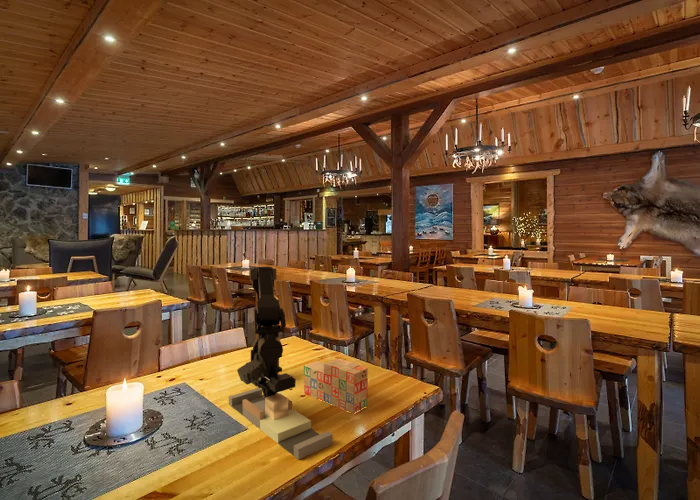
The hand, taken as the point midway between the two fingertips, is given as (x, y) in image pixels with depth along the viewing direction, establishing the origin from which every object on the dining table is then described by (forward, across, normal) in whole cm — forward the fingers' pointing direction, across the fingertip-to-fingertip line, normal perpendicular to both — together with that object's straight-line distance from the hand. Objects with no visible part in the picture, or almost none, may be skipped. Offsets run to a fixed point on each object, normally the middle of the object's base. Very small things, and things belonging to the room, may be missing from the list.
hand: (268, 404), depth 111 cm
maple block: (+1, +4, 0) cm, 4 cm away
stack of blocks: (+4, +3, +21) cm, 22 cm away
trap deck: (+4, +4, 0) cm, 5 cm away
